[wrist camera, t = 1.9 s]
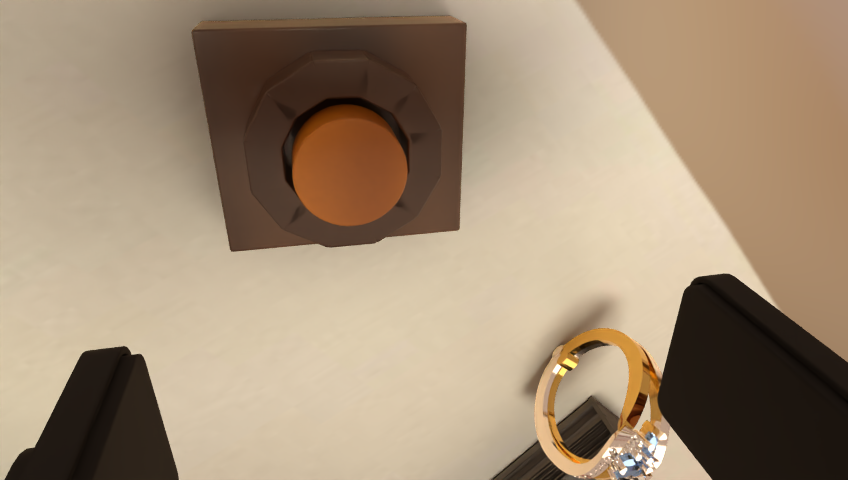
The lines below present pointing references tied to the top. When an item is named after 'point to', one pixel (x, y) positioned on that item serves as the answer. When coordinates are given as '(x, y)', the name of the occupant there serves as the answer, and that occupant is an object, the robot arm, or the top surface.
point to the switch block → (318, 89)
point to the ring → (626, 447)
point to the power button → (348, 165)
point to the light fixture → (568, 444)
